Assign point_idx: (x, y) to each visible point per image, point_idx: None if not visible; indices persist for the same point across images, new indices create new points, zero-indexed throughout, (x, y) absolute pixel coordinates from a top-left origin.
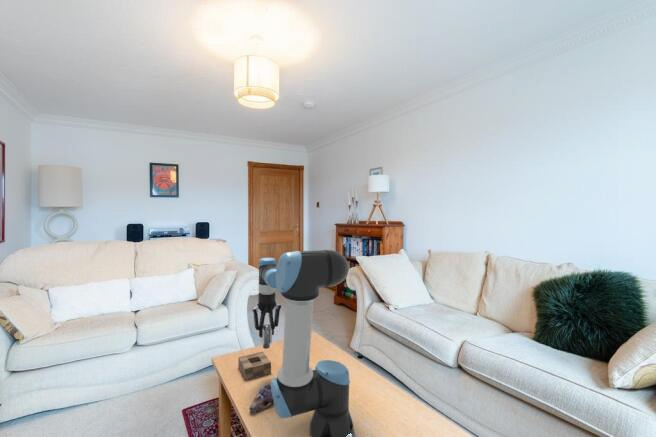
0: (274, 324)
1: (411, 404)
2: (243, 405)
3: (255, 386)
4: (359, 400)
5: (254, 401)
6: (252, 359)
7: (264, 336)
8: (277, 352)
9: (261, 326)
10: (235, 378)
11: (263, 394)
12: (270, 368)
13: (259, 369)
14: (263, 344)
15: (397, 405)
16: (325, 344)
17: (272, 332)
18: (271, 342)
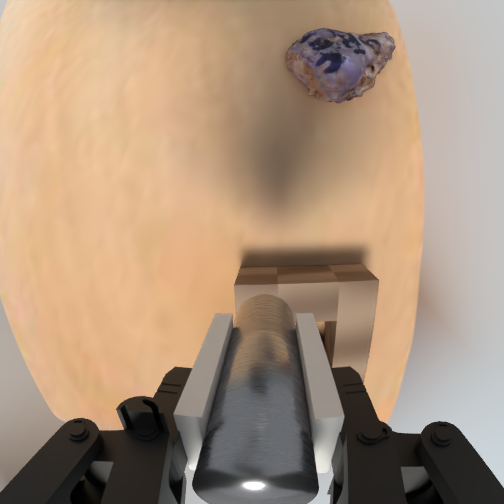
0: (111, 464)
1: (9, 8)
2: (403, 99)
3: (337, 193)
4: (58, 15)
5: (380, 49)
6: None
7: (298, 368)
8: None
9: (387, 479)
10: (389, 293)
11: (349, 36)
12: (240, 274)
13: (300, 275)
14: (305, 314)
15: (23, 3)
16: (23, 346)
17: (179, 388)
18: (218, 317)
